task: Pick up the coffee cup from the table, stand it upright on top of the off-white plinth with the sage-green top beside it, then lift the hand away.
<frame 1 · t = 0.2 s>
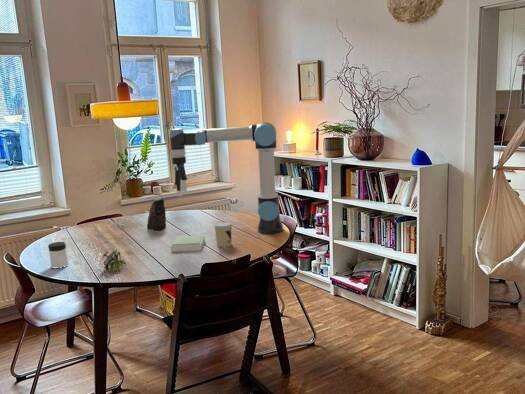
hand: (182, 193, 287), 28 cm above the table, tool pointing down, fingers open, 13 cm apart
small green plant: (115, 269, 250), on the table
coffee cup: (224, 245, 279), on the table
owl: (157, 228, 324), on the table
plinth: (188, 246, 280), on the table
jar: (60, 266, 259), on the table
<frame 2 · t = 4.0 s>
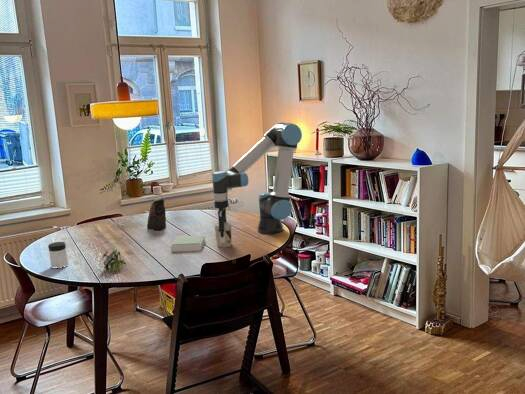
hand: (223, 239, 279), 3 cm above the table, tool pointing down, fingers closed on coffee cup, 9 cm apart
coffee cup: (224, 245, 279), on the table, touching gripper
everything else where it was.
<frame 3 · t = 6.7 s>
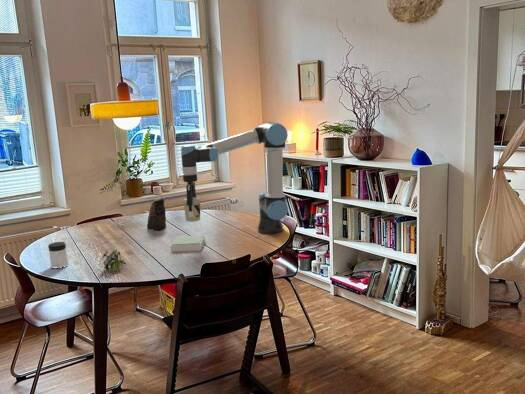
hand: (192, 214, 276), 18 cm above the table, tool pointing down, fingers closed on coffee cup, 9 cm apart
coffee cup: (193, 220, 277), point 15 cm above the table, touching gripper
everything else where it was.
when the fingers open (8 cm above the table, at t = 9.7 s): coffee cup stays where it is, resting on plinth.
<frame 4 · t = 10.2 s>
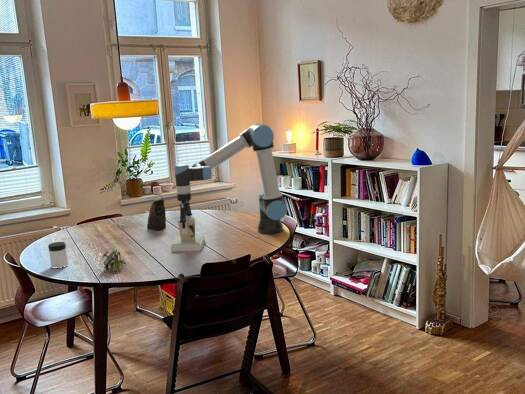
hand: (187, 230, 278), 9 cm above the table, tool pointing down, fingers open, 13 cm apart
coffee cup: (188, 240, 279), point 4 cm above the table, touching plinth
everything else where it was.
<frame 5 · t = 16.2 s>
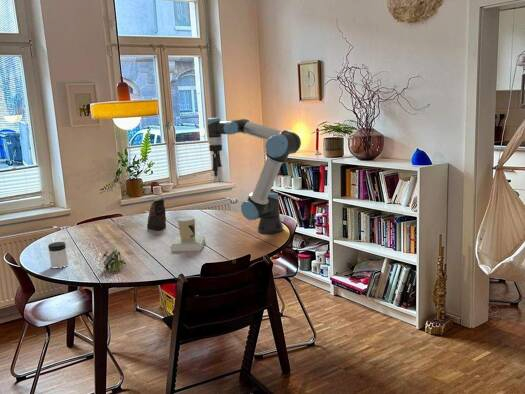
hand: (218, 179, 303), 32 cm above the table, tool pointing down, fingers open, 13 cm apart
nothing on the table moved.
at the end: coffee cup inside the target area on the plinth (0.1 cm from its centre), point 3.8 cm above the plinth's base; coffee cup tilted 0°; the gripper is holding nothing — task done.
